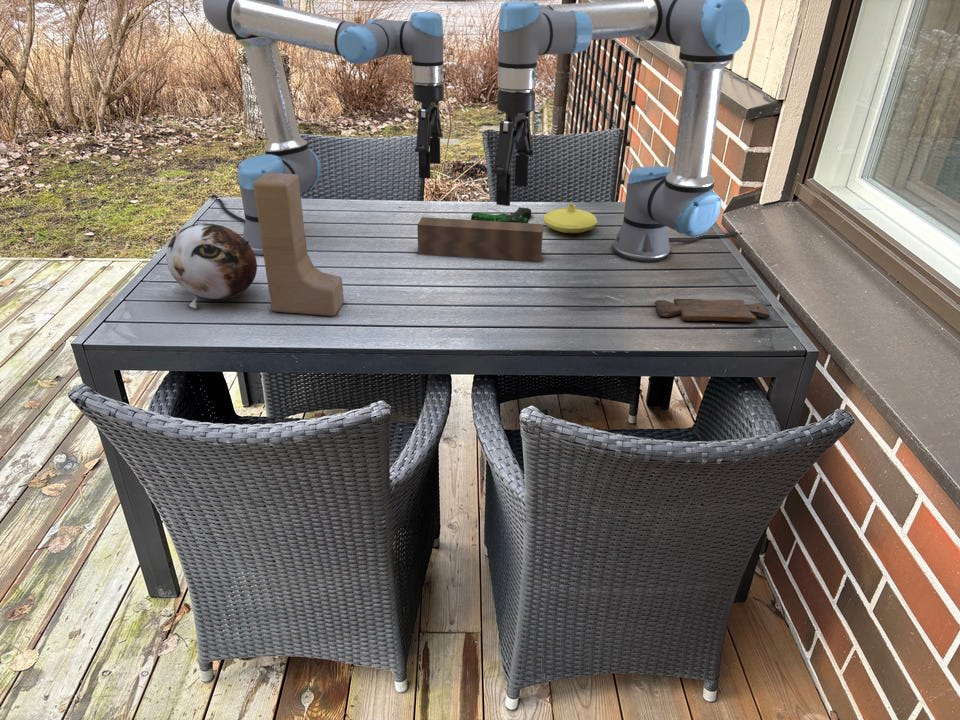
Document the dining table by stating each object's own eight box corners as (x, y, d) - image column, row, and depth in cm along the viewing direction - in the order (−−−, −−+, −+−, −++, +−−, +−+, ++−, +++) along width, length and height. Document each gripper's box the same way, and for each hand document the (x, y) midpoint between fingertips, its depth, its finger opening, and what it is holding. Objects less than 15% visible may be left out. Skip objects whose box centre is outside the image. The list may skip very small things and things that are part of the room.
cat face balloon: (130, 285, 161) (164, 203, 163) (192, 308, 177) (221, 233, 178) (195, 307, 151) (229, 220, 152) (254, 330, 166) (285, 250, 168)
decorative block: (334, 317, 160) (321, 185, 145) (271, 312, 162) (251, 181, 147) (344, 302, 167) (333, 175, 151) (283, 298, 168) (265, 171, 153)
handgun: (537, 208, 218) (520, 221, 206) (536, 217, 220) (520, 231, 208) (488, 201, 224) (469, 214, 212) (488, 211, 225) (469, 224, 213)
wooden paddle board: (775, 325, 161) (761, 305, 169) (777, 318, 160) (763, 299, 168) (660, 321, 161) (652, 301, 169) (661, 314, 160) (653, 295, 169)
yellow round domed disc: (559, 216, 220) (561, 193, 217) (605, 227, 212) (608, 204, 209) (532, 230, 209) (533, 207, 206) (580, 242, 201) (582, 218, 198)
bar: (418, 254, 193) (417, 224, 189) (422, 246, 198) (421, 217, 194) (540, 262, 190) (542, 231, 185) (541, 253, 195) (543, 224, 190)
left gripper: (433, 93, 162) (435, 185, 173) (452, 75, 183) (452, 158, 194) (401, 92, 163) (404, 183, 174) (423, 74, 184) (425, 156, 195)
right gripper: (517, 102, 129) (513, 215, 140) (549, 80, 149) (543, 180, 160) (478, 99, 131) (476, 211, 142) (515, 77, 151) (511, 177, 162)
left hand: (430, 170), depth 184 cm, fingers open, 13 cm apart
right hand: (512, 195), depth 151 cm, fingers open, 13 cm apart
